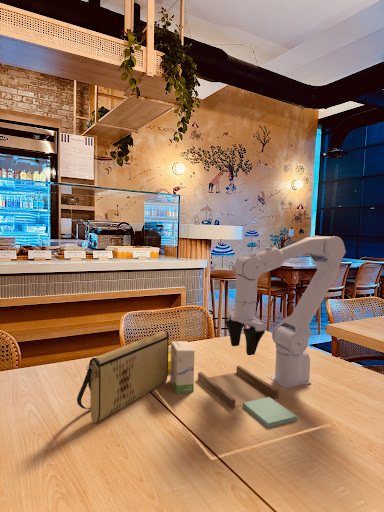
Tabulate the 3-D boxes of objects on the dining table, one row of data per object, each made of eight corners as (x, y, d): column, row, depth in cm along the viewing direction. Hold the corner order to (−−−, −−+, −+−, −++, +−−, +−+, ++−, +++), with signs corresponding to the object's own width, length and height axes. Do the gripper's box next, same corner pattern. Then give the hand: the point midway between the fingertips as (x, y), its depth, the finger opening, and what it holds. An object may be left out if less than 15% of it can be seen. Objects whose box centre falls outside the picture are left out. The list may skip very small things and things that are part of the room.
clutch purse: (151, 376, 104) (152, 325, 103) (171, 382, 101) (172, 330, 99) (68, 421, 79) (68, 355, 78) (90, 431, 75) (91, 362, 74)
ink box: (194, 393, 94) (195, 350, 93) (175, 395, 92) (176, 351, 91) (186, 380, 102) (187, 340, 101) (169, 381, 101) (170, 340, 100)
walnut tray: (239, 373, 108) (239, 365, 107) (278, 399, 91) (278, 390, 91) (197, 381, 101) (198, 372, 101) (231, 410, 85) (231, 400, 85)
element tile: (141, 355, 123) (142, 341, 122) (184, 358, 121) (185, 344, 120) (128, 372, 108) (128, 356, 107) (177, 376, 106) (177, 360, 105)
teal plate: (269, 404, 90) (269, 396, 90) (296, 424, 81) (297, 416, 81) (242, 410, 86) (242, 402, 86) (267, 432, 77) (268, 423, 77)
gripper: (219, 296, 102) (216, 343, 102) (248, 307, 89) (245, 360, 89) (240, 295, 105) (237, 341, 106) (271, 306, 92) (268, 357, 93)
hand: (242, 350), depth 98 cm, fingers open, 7 cm apart
